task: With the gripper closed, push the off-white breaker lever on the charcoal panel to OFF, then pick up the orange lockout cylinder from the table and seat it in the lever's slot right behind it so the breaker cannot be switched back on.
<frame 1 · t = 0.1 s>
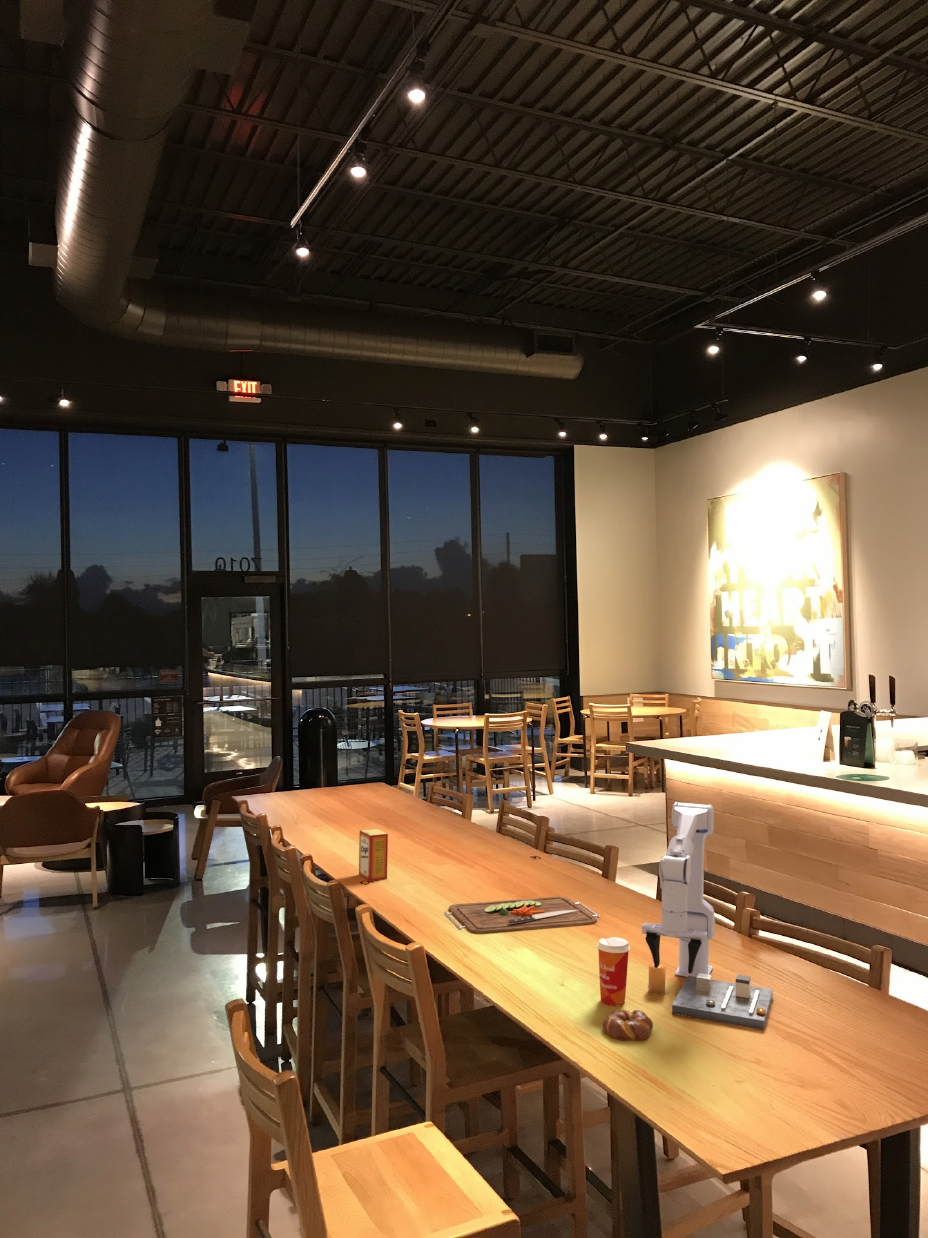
hand: (673, 969, 212), 10 cm above the table, fingers open, 7 cm apart
chopping board: (522, 917, 284), on the table
breaker lever: (743, 986, 218), point 4 cm above the table, slide at 0.0 cm
pretzel: (627, 1032, 203), on the table
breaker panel: (723, 1005, 217), on the table
paper cup: (612, 1002, 218), on the table
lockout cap: (656, 991, 225), on the table
baking soda box: (372, 877, 325), on the table
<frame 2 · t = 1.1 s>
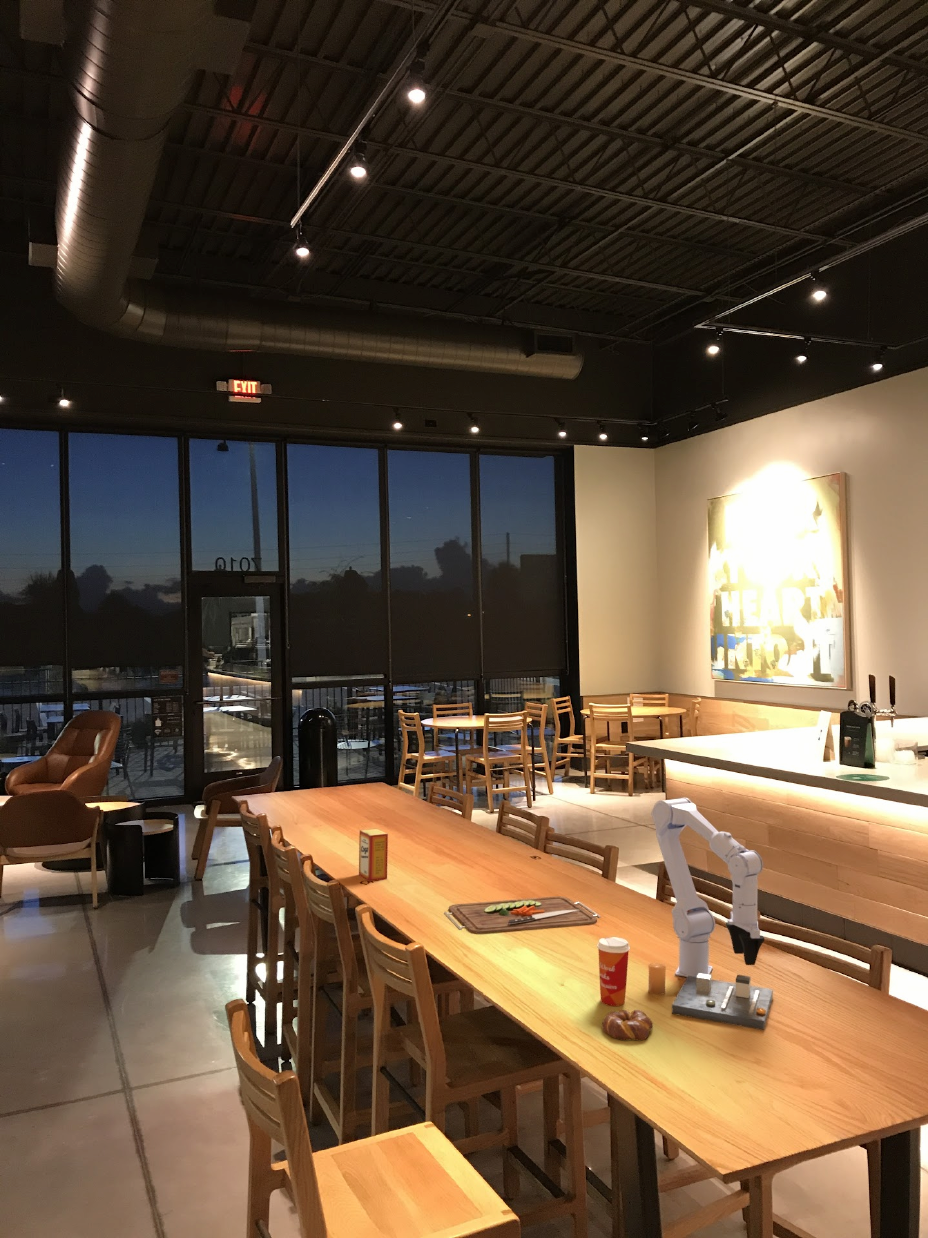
hand: (744, 959, 224), 8 cm above the table, fingers open, 7 cm apart
nothing on the table moved.
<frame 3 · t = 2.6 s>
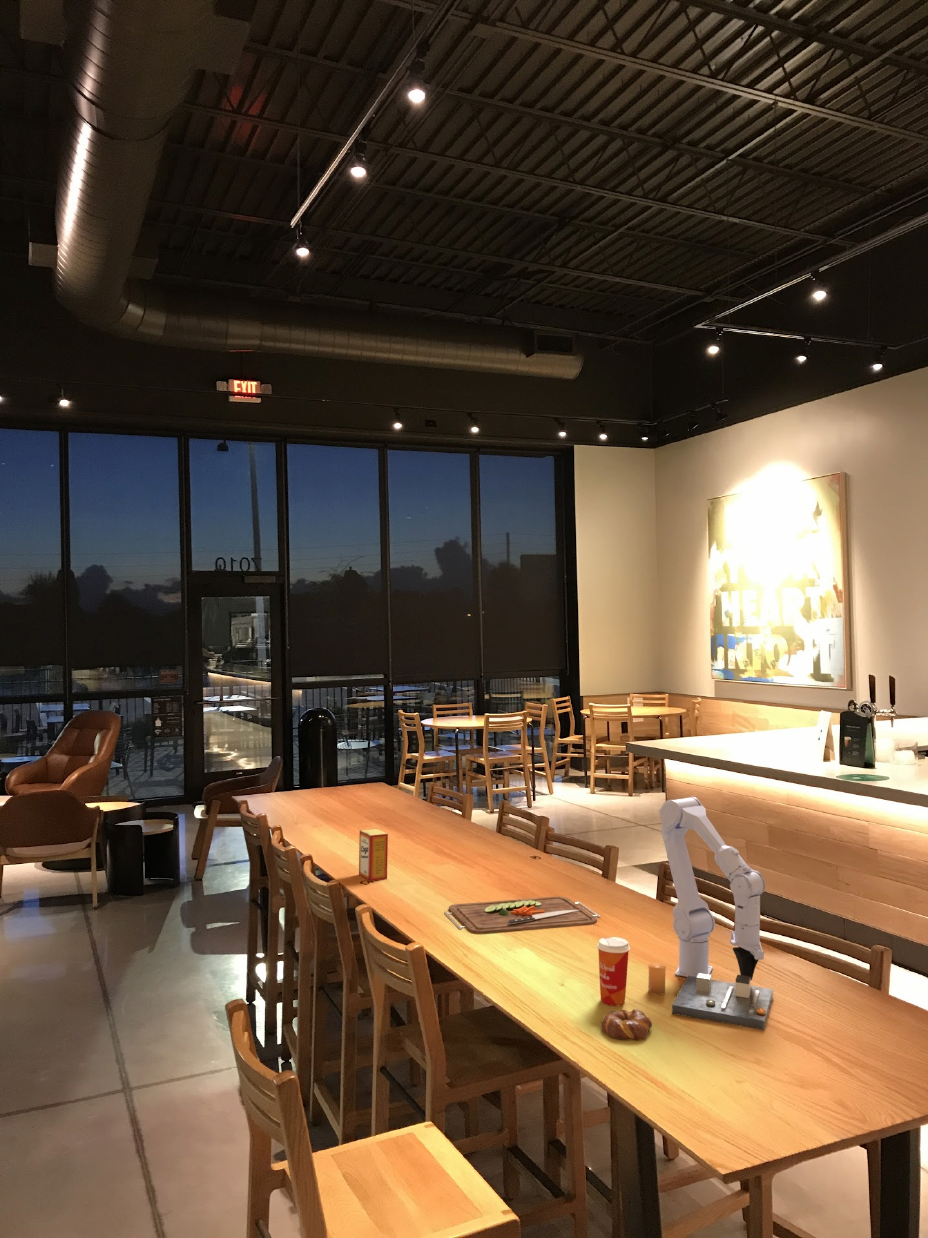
hand: (746, 979, 225), 3 cm above the table, fingers closed
nothing on the table moved.
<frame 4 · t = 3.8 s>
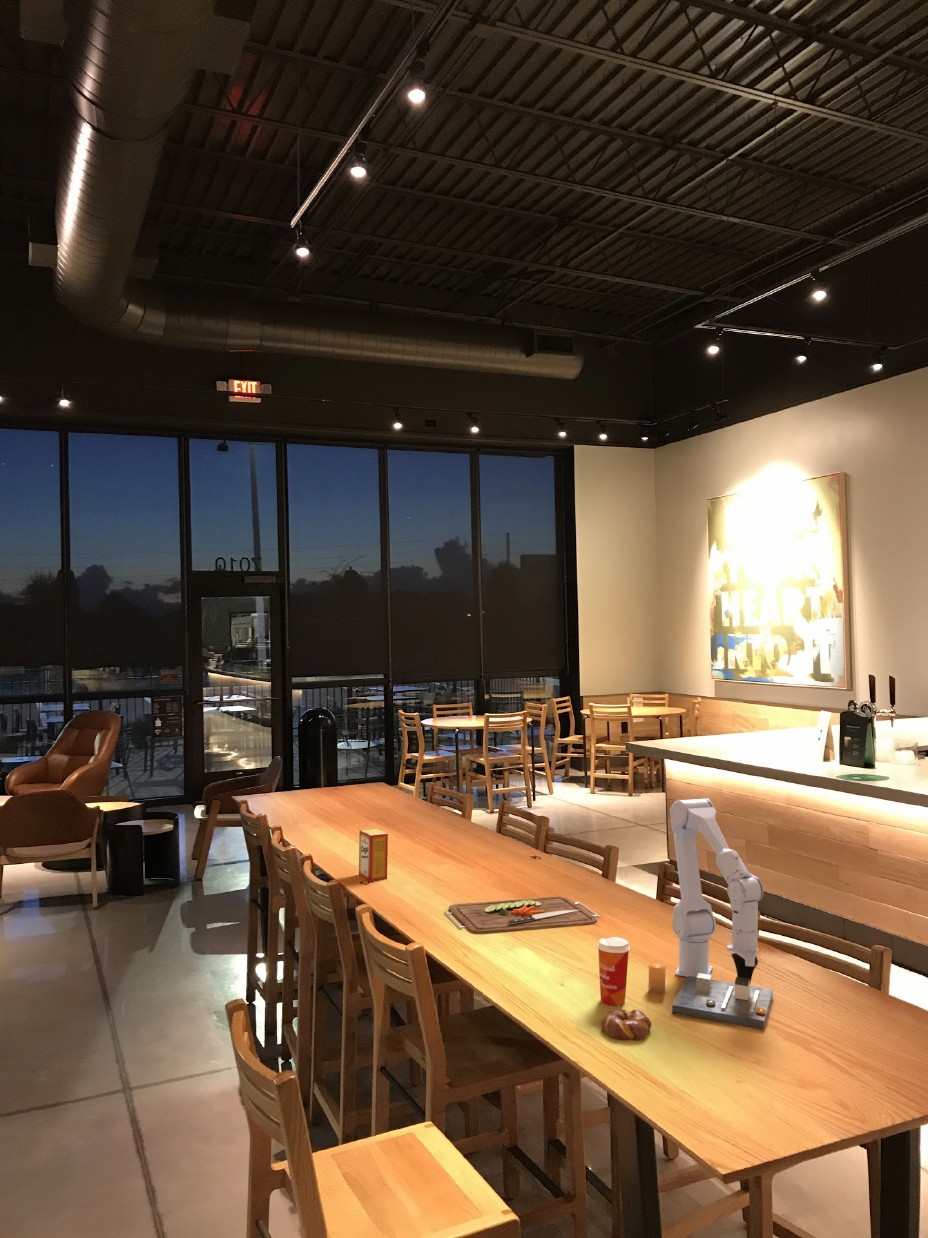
hand: (744, 986, 220), 3 cm above the table, fingers closed
breaker lever: (742, 988, 217), point 4 cm above the table, slide at 1.4 cm, touching gripper
everything else where it was.
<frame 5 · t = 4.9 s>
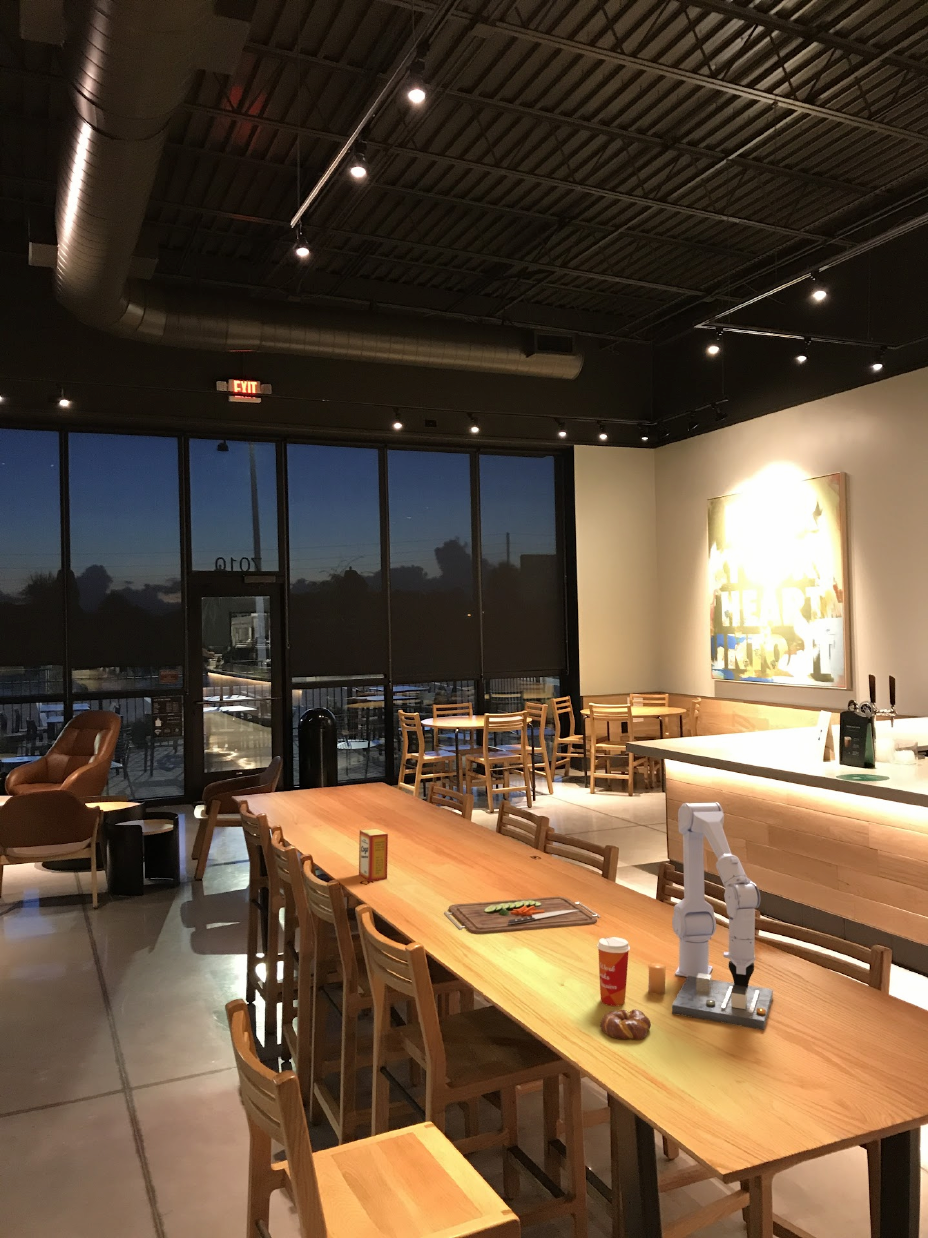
hand: (741, 995, 215), 3 cm above the table, fingers closed
breaker lever: (739, 997, 212), point 4 cm above the table, slide at 7.0 cm, touching gripper
everything else where it was.
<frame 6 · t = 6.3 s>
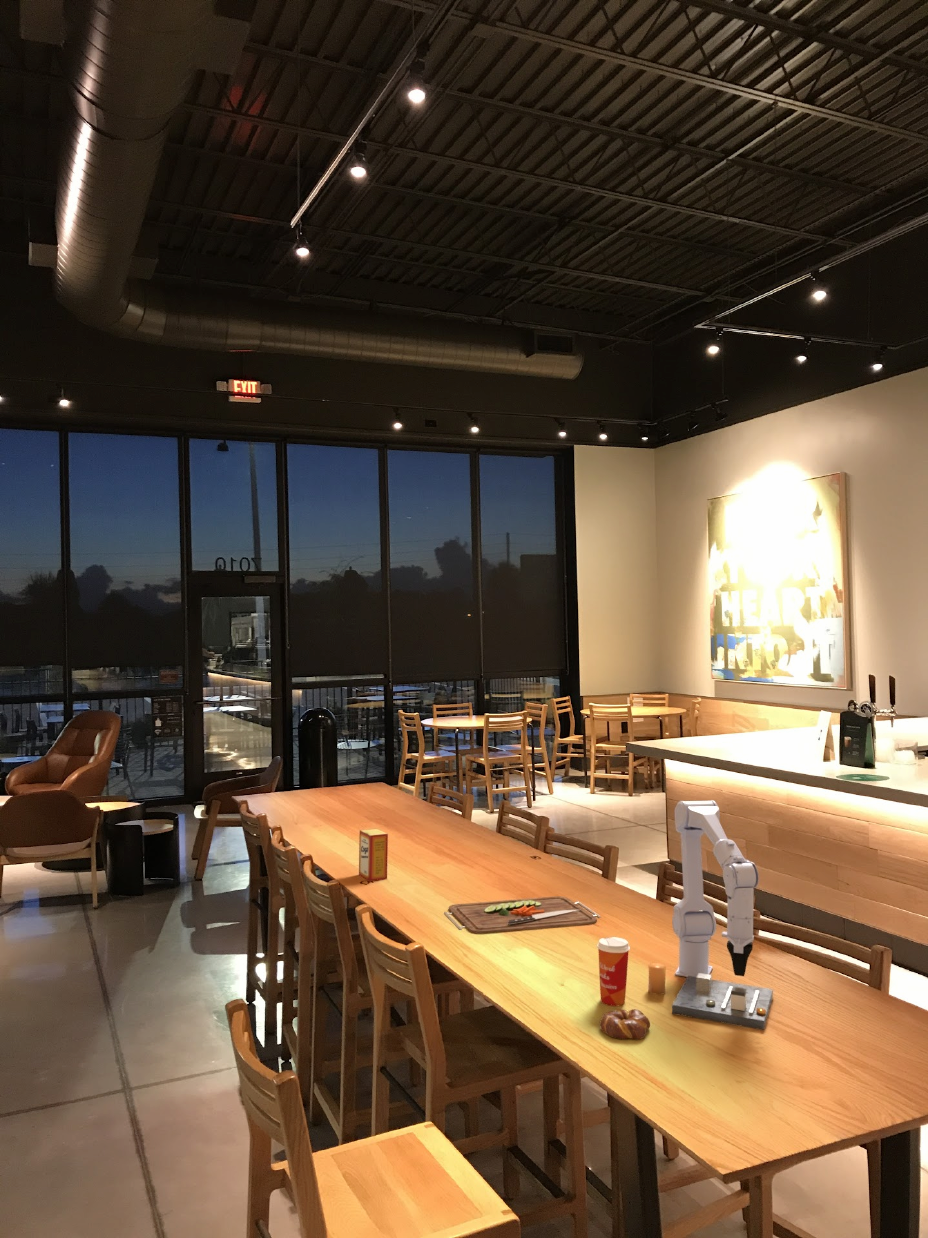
hand: (739, 975, 214), 8 cm above the table, fingers closed
breaker lever: (738, 998, 211), point 4 cm above the table, slide at 8.0 cm
everything else where it was.
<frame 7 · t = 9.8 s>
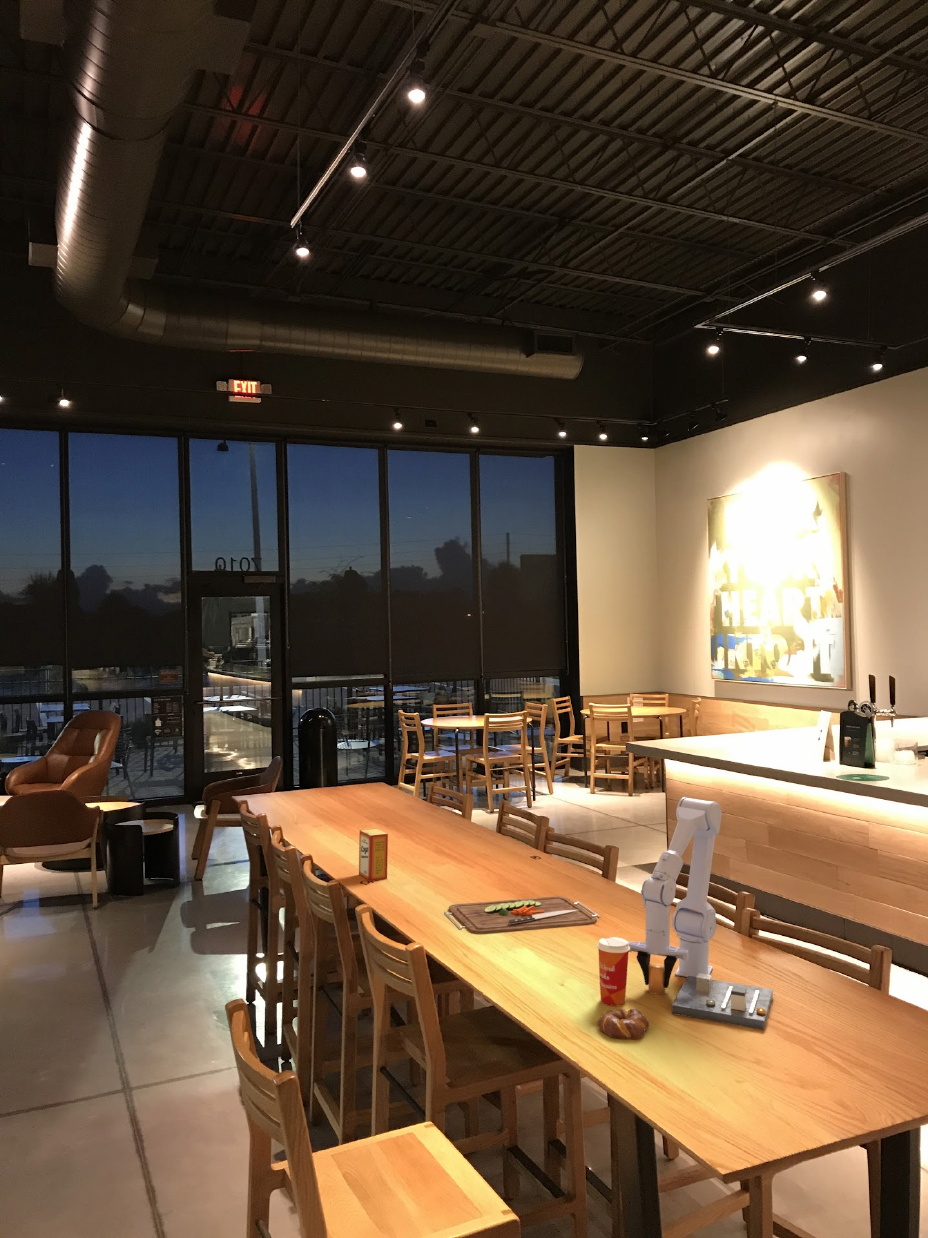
hand: (656, 985, 225), 1 cm above the table, fingers closed on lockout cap, 4 cm apart
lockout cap: (656, 991, 225), on the table, touching gripper
when the fingers open (4 cm above the table, at t = 13.5 s): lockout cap stays where it is, resting on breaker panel.
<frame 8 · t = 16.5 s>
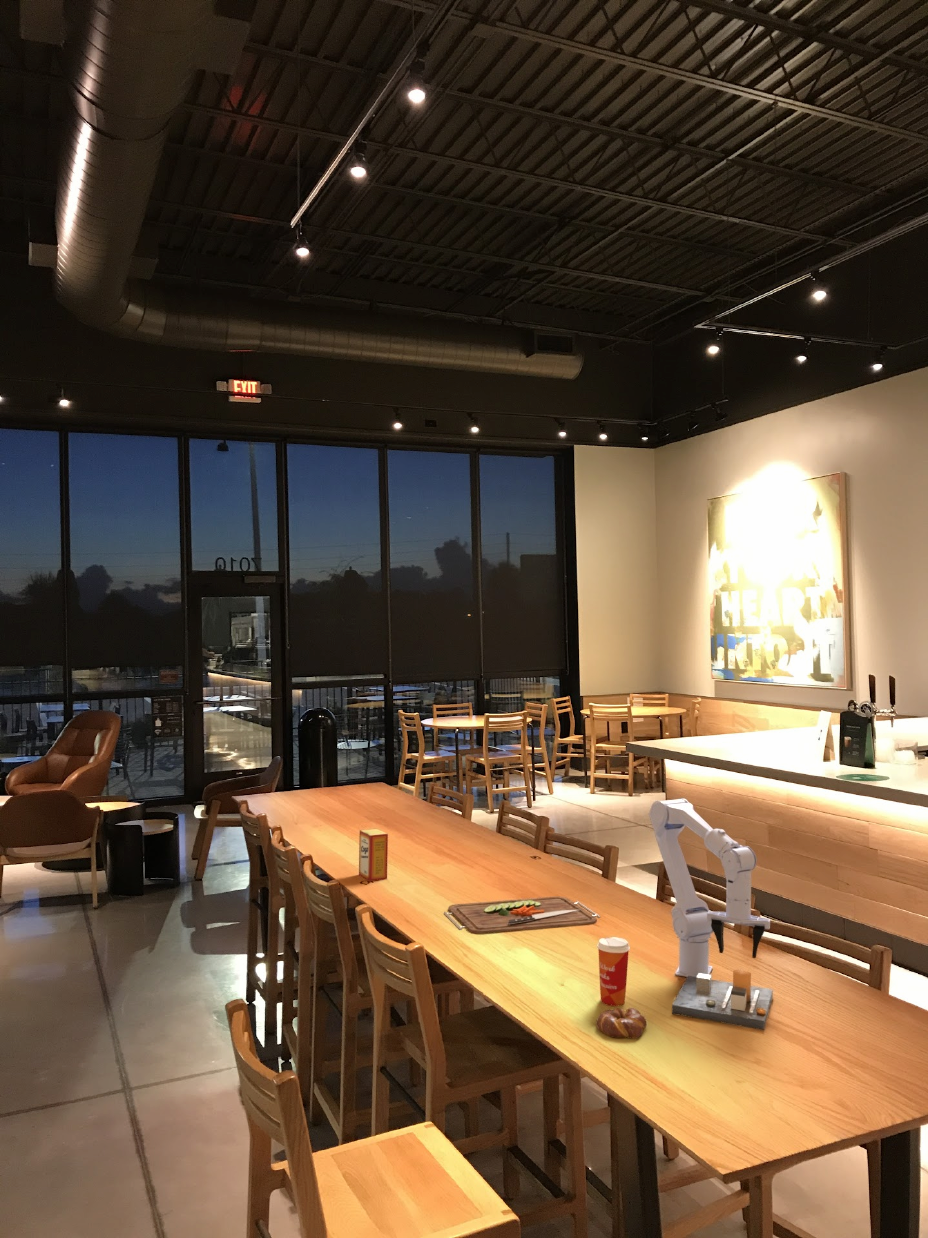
hand: (737, 954, 225), 9 cm above the table, fingers open, 7 cm apart
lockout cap: (741, 998, 216), point 2 cm above the table, touching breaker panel
at the end: breaker lever slide at 8.0 cm; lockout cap 0.1 cm from the target spot, point 2.0 cm above the table; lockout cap tilted 0° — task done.
